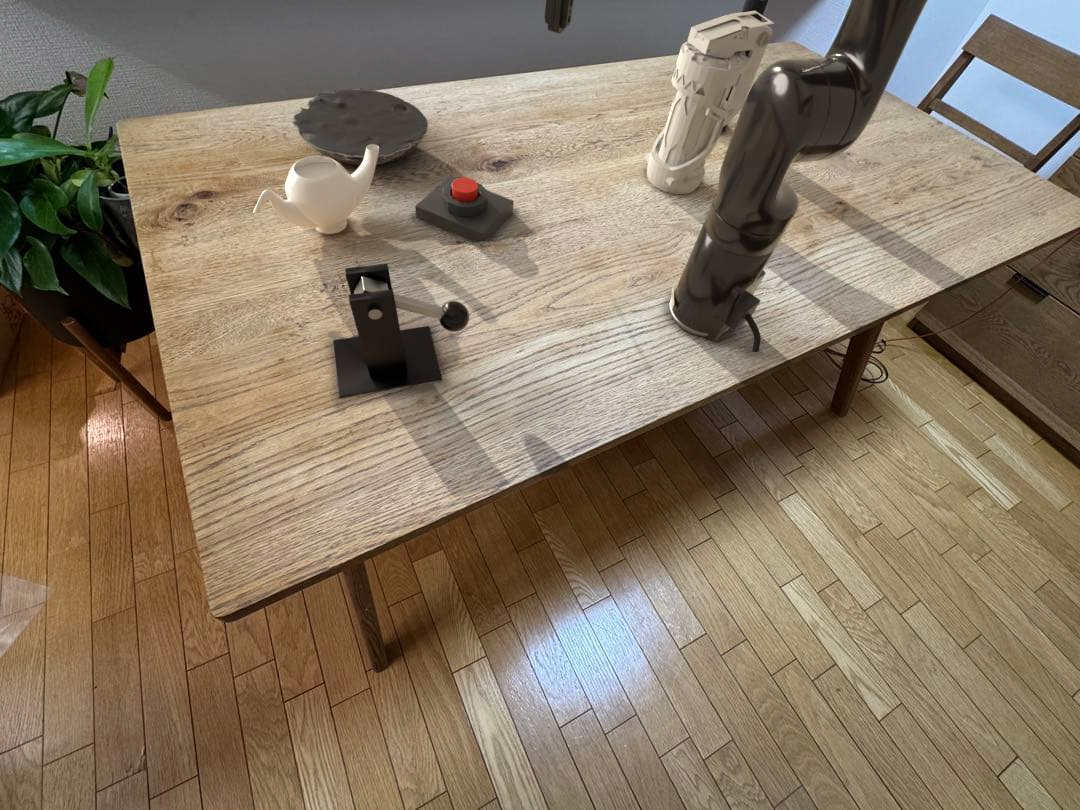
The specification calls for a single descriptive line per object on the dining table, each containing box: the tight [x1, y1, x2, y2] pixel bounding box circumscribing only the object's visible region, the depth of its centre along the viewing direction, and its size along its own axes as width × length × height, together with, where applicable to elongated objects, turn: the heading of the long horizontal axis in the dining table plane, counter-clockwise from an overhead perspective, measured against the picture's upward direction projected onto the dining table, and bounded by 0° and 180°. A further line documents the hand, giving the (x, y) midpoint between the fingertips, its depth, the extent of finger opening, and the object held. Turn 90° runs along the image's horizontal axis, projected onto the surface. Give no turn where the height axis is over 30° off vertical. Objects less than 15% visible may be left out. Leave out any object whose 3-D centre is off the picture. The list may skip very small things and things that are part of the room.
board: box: [292, 88, 429, 166], centre depth 89 cm, size 22×22×5 cm
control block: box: [414, 175, 515, 243], centre depth 81 cm, size 12×10×4 cm
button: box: [452, 177, 478, 202], centre depth 79 cm, size 4×4×2 cm
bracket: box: [332, 263, 443, 399], centre depth 59 cm, size 12×9×14 cm
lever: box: [354, 276, 470, 333], centre depth 58 cm, size 13×4×4 cm
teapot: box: [252, 144, 379, 235], centre depth 74 cm, size 10×20×9 cm, turn 134°
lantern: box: [643, 11, 775, 195], centre depth 85 cm, size 13×10×25 cm
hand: (556, 29), depth 62 cm, fingers closed
